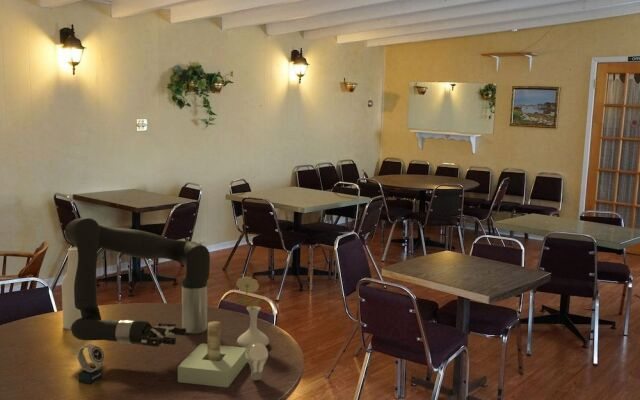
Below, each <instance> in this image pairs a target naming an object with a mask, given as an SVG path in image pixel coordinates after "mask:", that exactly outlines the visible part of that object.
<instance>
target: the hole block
mask: <svg viewBox="0 0 640 400" xmlns="http://www.w3.org/2000/svg"><path fill="white" fill-rule="evenodd" d="M207 345H208V343H200V344H199V345H197V347H196V348H195V349H194V350H193V351H191V353H190V354H189V355H188V356H187V357H185V359H184V360H182V362H181V363H180V364H179V365H178V366H177V382H178V383H181V384H182V383H183V384H193V385H202V386H211V387H219V388H221V387H222V388H229V387H230V385H231V384H232V383H233V381H234V380H235V379H236V377H238V375H239V374H240V372H241V371H242V369H243V368H244V367H245V366H246V364H247V363H248V362H247V360H246V350H247V348H244V347H241V346H232V345H231V346H230V345H224V344H223V345H221V344H220V361H212V360H207Z"/></svg>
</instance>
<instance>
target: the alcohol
mask: <svg viewBox="0 0 640 400" xmlns="http://www.w3.org/2000/svg"><path fill="white" fill-rule="evenodd" d="M67 255H68V256H67V270H66V274H65V275H64V276H63V278H62V280H61V301H62V302H61V303H62V305H61V307H62V326H63V328H64V329H65V330H68V331H69V330H70V331H71V326H72V324H73V323H74V322H75V321H76V320H77V319H79V318H82V316H81V311H80V310H78V309H76V307H75V303H74V282H75V276H76V271H77V265H78V250H77V247H69V248H68V249H67Z"/></svg>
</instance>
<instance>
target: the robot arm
mask: <svg viewBox="0 0 640 400" xmlns="http://www.w3.org/2000/svg"><path fill="white" fill-rule="evenodd" d="M65 226H66V227H65V229H64V236H65V238H66V239H67V241H68V242H69V243H70V244H72V245H74V246H76V248H77V250H78V265H77V271H76V276H75V282H74V303H75V307H76V309H78V310H80V311H81V316H82V318H79V319H77V320H76V321H75V322H74V323H73V324H72V326H71V330H70V332H71V334H72V336H73V337H74V338H75V339H77V340H80V341H107V342H118V343H122V344H128V345H129V344H130V345H141V346H149V347H160V346H162V345H170V346H171V345H176V343H177V342H176V341H177V339H176V337H174V336H172V335H176V336H186V335H187V334H200V333H205V332H206V331H208V281H209V279H210V269H211V268H210V267H211V266H210V263H211V255H210V251H209V249H208V248H207V246H205V245H204V244H203V245H202V244H200V243H198V242H196V241H189V240H177V239H172V238H171V239H170V238H167V237H165V236H163V235H159V234H157V233H154V232H153V233H152V232H149V231H145V230H139V229H133V228H123V227H122V228H121V227H107V226H103V225H100V224H99V223H98V222H97V220H95V219H94V218H91V217H80V218H75V219H74V220H73V219H72V221H70V222H69V223H68V224H67V225H65ZM99 248H101V249H106V250H111V251H112V252H116V253H120V254H124V255H127V256H133V257H136V258H141V259H151V260H152V259H156V260H157V259H166V260H171V261H174V262H177V263H180V264H183V265H184V266H186V270H185V271H186V273H185V276H183V277H182V279H181V327H177V325H176V324H175V323H158V324H157V325H155V326H152V325H151V323H150V322H149V321H146V320H135V319H134V320H133V319H116V318H107V319H102V317H101V316H102V315H101V313H100V308H99V305H98V293H97V292H98V291H97V290H98V287H97V265H98V263H97V262H98V254H99V253H98V251H99Z"/></svg>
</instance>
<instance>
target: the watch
mask: <svg viewBox="0 0 640 400" xmlns="http://www.w3.org/2000/svg"><path fill="white" fill-rule="evenodd" d="M85 349H87V352H88V358H89V360H90V361H91V362H92V363H93V364H94V366H92V365H90V366H89V363H88V361H87V359H86V356H85V354H84V350H85ZM104 359H105V353H104V351H103V349H102V348H101V347H99V346H97V345H95V344H89V343H88V344H86V345H84V346H82V347H80V348H79V350H77V360H78V364H79V365H80V367H81V368H82V370H81V371H79V372H77V375H78V378H77V379H78V383H80V384H84V385H88V386H90V385H93V384H95V383H96V382H99V381H100V380H101V379H103V368H102V366H103V363H104Z"/></svg>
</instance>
